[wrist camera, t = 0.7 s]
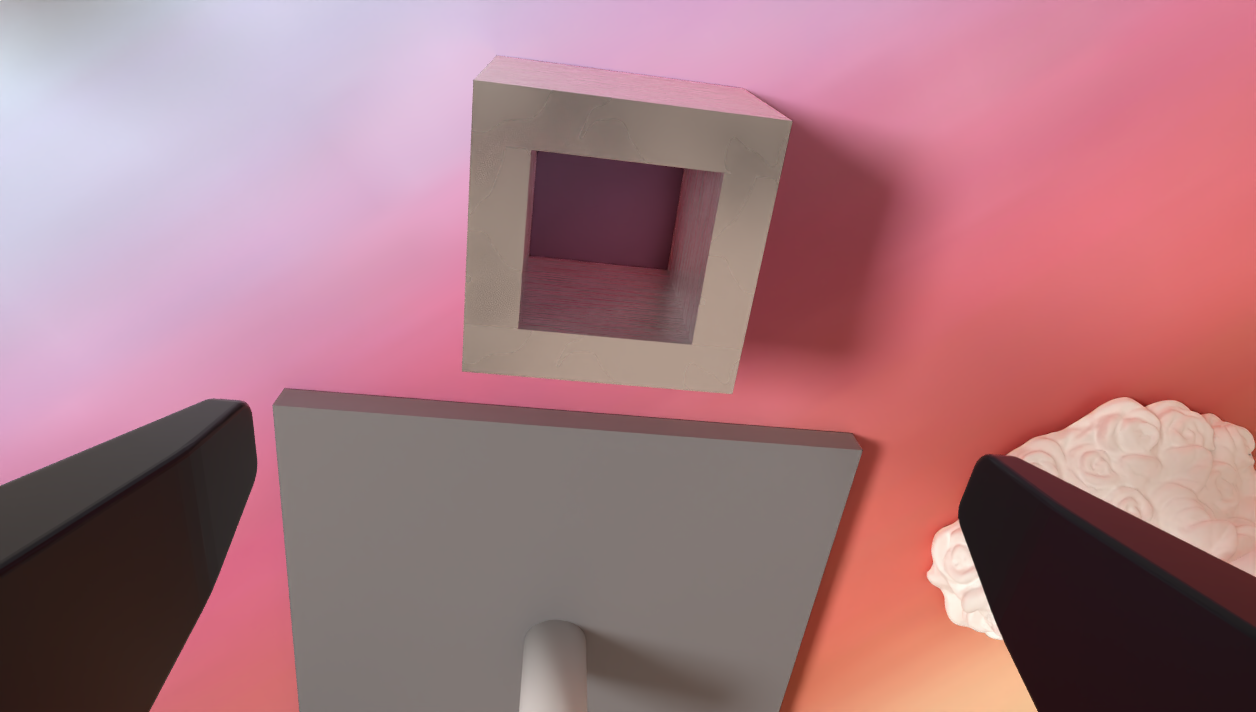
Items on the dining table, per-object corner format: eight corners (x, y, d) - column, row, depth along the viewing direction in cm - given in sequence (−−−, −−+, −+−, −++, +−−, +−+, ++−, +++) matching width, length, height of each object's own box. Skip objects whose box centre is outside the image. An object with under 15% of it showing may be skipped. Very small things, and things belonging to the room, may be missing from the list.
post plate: (744, 782, 33) (784, 971, 27) (314, 773, 31) (248, 976, 24) (852, 433, 25) (945, 585, 19) (284, 388, 23) (176, 543, 17)
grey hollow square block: (700, 311, 23) (732, 393, 18) (484, 290, 22) (462, 371, 17) (743, 88, 20) (792, 120, 15) (496, 55, 19) (473, 80, 15)
